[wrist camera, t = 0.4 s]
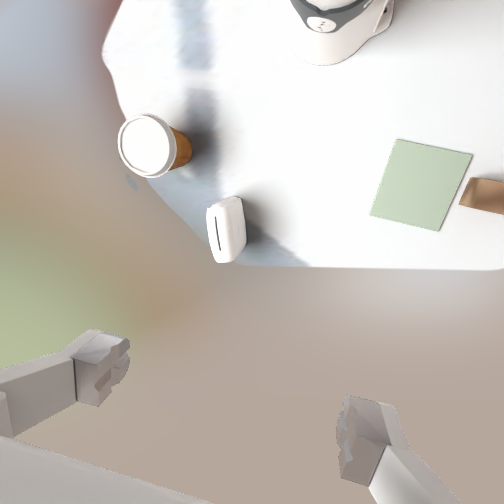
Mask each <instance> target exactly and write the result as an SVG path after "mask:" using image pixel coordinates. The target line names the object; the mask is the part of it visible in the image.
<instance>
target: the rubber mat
mask: <svg viewBox="0 0 504 504" xmlns="http://www.w3.org/2000/svg"><path fill="white" fill-rule="evenodd" d="M471 157H472V155H469V154H464V153H459V152H454V151H450V150H445V149H440V148H435V147H431V146H426V145H421V144H416V143H411V142H407V141H402V140H397V139H396V140H395V143H394V146H393V148H392V151H391V154H390V157H389V160H388V163H387V165H386V168H385V171H384V174H383V177H382V179H381V182H380V185H379V188H378V191H377V193H376V196H375V199H374V202H373V205H372V208H371V210H370V213H369V215H371V216H375V217H379V218H383V219H388V220H392V221H396V222H400V223H404V224H409V225H413V226H417V227H421V228H425V229H430V230H434V231H439V229H440V226H441V224H442V222H443V220H444V217H445V215H446V213H447V211H448V208H449V206H450V204H451V202H452V199H453V197H454V195H455V193H456V191H457V188H458V186H459V184H460V182H461V179H462V177H463V175H464V173H465V170H466V168H467V166H468V164H469V162H470V159H471Z"/></svg>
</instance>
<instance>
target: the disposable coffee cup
mask: <svg viewBox="0 0 504 504" xmlns="http://www.w3.org/2000/svg"><path fill="white" fill-rule="evenodd" d="M118 148H119V153H120V155H121V158H122V160H123V161H124V163H125V164H126V165H127V166H128V167H129V168H130V169H131V170H132V171H134V172H135V173H137V174H138V175H141V176H143V177H147V178H155V177H159V176H161V175H163V174H165V173H166V172H167V171H169V170H172V169H175V168H178V167H181V166H184V165H185V164H187V163H188V162H189V160H190V159H191V156H192V145H191V143H190V141H189V139H188V138H187V137H186V136H185V135H184V134H182V133H180V132H178V131H177V130H175V129H173V128H172V127H170V126H168V125H167V123H166V122H165V121H163V120H162V119H161V118H159V117H158V116H155V115H153V114H149V113H141V114H137V115H135V116H133V117H131V118H130V119H128V120H127V121H126V122H125V123H124V124H123V126H122V127H121V129H120V132H119V135H118Z"/></svg>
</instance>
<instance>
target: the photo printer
mask: <svg viewBox="0 0 504 504" xmlns="http://www.w3.org/2000/svg"><path fill="white" fill-rule="evenodd" d="M207 227H208V234H209V240H210V245H211V249H212V252H213V255H214V257H215V259H216V261H217V262H219V263H222V262H230V261H233V260H235V259H236V258H237V257H238V255H239V254H240V252H241V251H242V249H243V248H244V247H245V245H246V239H247V238H246V227H245V219H244V213H243V207H242V202H241V199H240V198H237V197H235V196H230V197H228V198H226V199H224V200H222V201H220V202H218V203H216V204H214V205H212V206H210V207H208V208H207Z"/></svg>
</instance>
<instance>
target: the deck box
mask: <svg viewBox="0 0 504 504" xmlns="http://www.w3.org/2000/svg"><path fill="white" fill-rule="evenodd" d="M459 204H460V205H463V206H467V207H471V208H475V209H480V210H484V211H489V212H494V213H498V214H503V215H504V183H503V182H498V181H493V180H488V179H480V178H470V180H469V182H468V184H467V186H466V188H465V191H464V193H463V195H462V197H461V200H460V202H459Z"/></svg>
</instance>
